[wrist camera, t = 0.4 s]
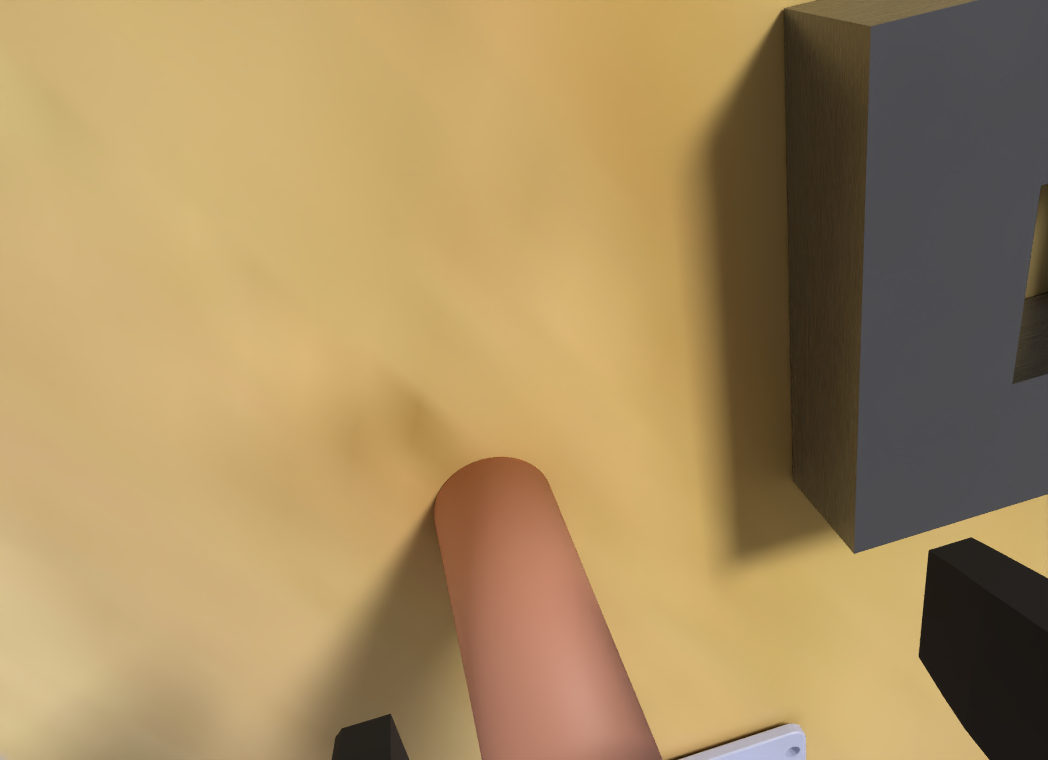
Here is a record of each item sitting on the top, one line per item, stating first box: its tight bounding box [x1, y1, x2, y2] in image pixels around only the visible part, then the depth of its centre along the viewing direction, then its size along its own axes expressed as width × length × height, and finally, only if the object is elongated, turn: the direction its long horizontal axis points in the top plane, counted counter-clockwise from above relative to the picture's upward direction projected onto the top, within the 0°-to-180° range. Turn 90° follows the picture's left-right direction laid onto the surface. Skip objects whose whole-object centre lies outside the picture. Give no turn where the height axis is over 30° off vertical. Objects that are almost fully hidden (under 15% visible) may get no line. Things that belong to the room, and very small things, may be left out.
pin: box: [434, 457, 662, 760], centre depth 17 cm, size 3×3×8 cm
